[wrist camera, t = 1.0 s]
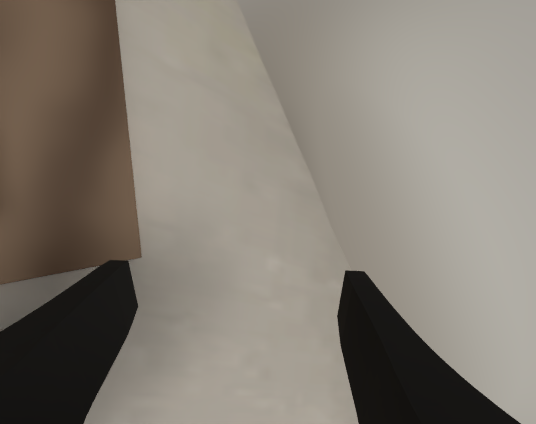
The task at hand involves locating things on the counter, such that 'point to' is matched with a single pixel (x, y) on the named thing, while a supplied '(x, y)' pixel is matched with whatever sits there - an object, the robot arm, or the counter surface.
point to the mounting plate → (63, 140)
